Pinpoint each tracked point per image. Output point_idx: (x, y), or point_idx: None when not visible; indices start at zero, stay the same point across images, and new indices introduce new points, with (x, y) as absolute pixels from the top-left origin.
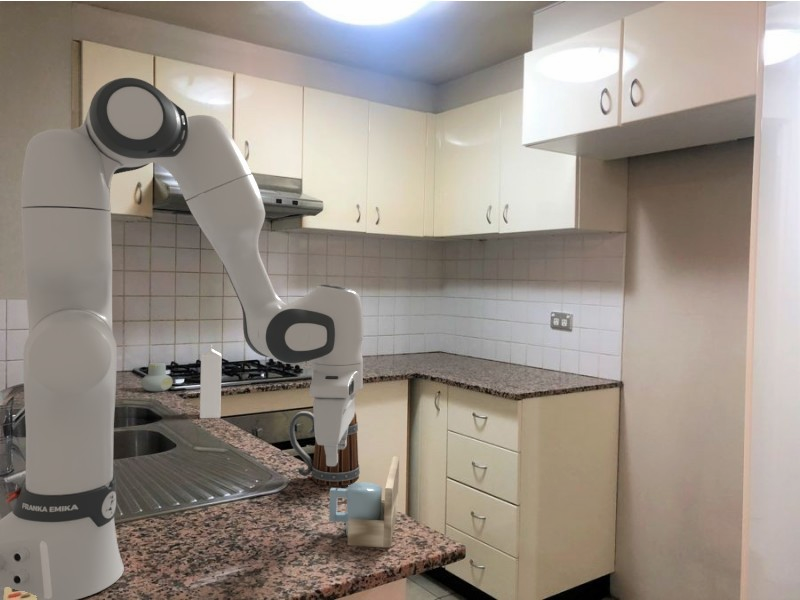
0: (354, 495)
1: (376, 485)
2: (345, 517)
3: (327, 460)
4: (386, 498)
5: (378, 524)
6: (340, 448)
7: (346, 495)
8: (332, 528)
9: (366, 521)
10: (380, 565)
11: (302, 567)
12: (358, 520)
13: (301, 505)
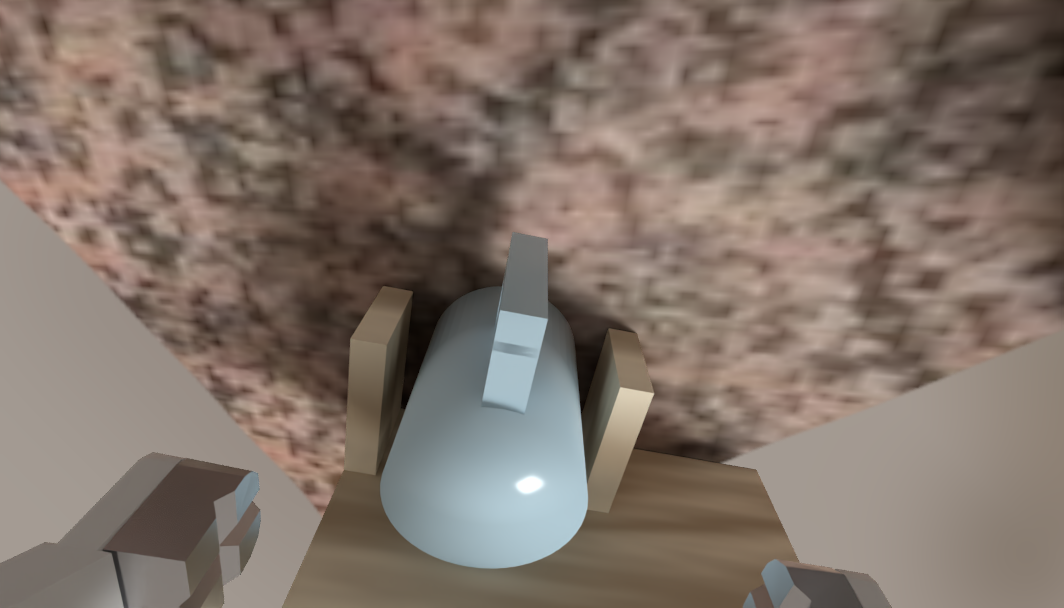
0: (398, 438)
1: (527, 552)
2: (496, 316)
3: (113, 501)
4: (297, 576)
5: (347, 448)
6: (765, 591)
7: (483, 386)
8: (559, 231)
9: (361, 411)
10: (231, 381)
11: (142, 88)
12: (369, 381)
13: (909, 64)
